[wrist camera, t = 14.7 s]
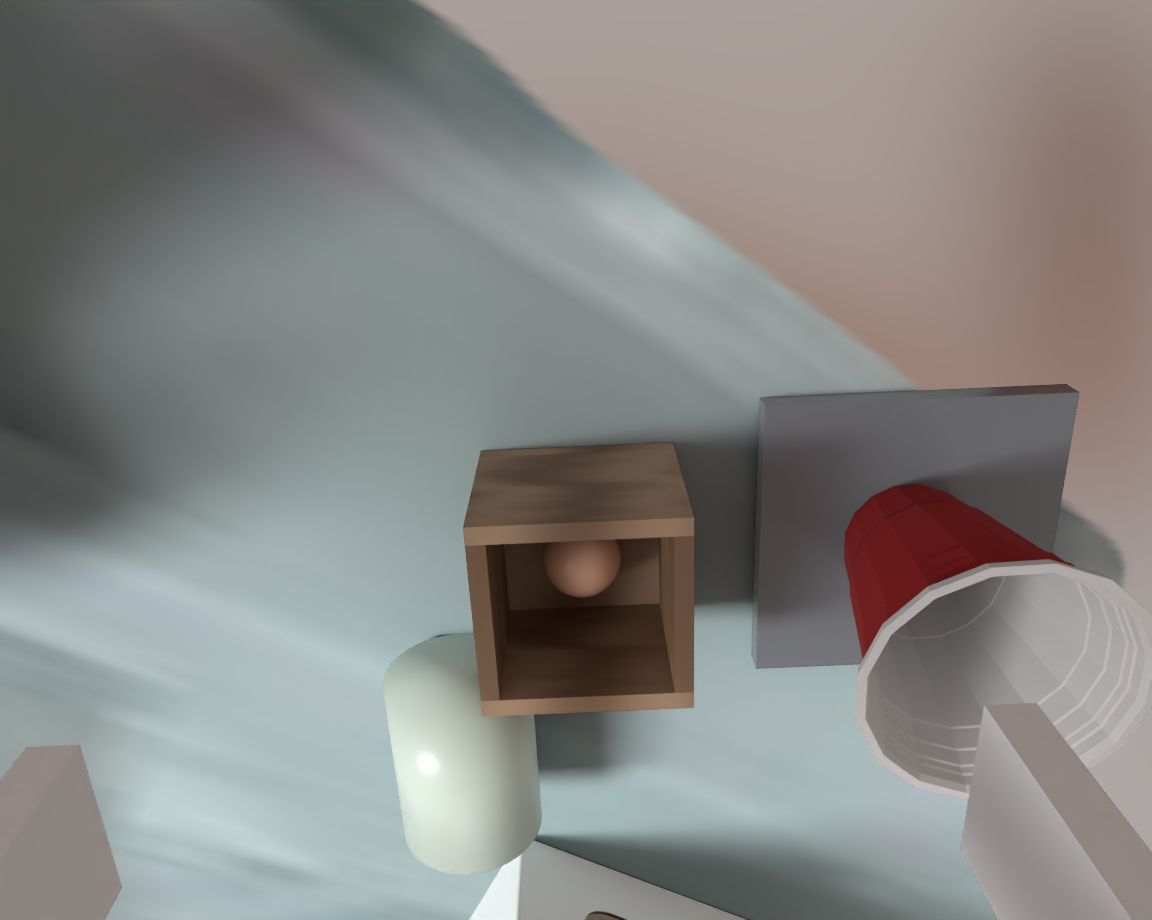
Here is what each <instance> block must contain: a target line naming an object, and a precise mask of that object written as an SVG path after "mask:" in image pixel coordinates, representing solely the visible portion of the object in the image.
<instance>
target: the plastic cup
mask: <svg viewBox="0 0 1152 920" xmlns="http://www.w3.org/2000/svg"><path fill="white" fill-rule="evenodd" d="M844 563H845V567H846V571H847V575H848V579H849V583H850V598H851V603H852V608H853V613H854V618H855V623H856V628H857V633H858V638H859V643H860V648H861V653H862V662H861V664H860V666H859V667H858V677H857V699H856V723H857V724H858V726H859V728H860V730H861V732H862V734H863V736H864V738H865V740H866V742H867V744H868V746H869V748H870V750H871V752H872V753H873V755H874V757H875V759H876V760H877V761H879V762H880V763H881V764H883V765H884V766H886V767H887V768H888V769H890V770H891V771H893V772H894V773H895V774H897V775H898V776H900V777H901V778H902V779H904V780H905V781H907V782H908V783H909V784H911V785H912V786H914V787H918V788H921V789H925V790H929V791H933V792H937V793H941V794H945V795H949V796H953V797H956V798H960V799H969V793H970V787H971V781H972V775H973V769H974V763H975V757H976V751H977V745H978V739H979V733H980V727H981V721H982V715H983V709H984V705H996V704H1019V703H1037V704H1038V706H1039V707H1040V708H1041V709H1042V711H1043V712H1044V713H1045V715H1046V716H1047V717H1048V719H1049V720H1050V721H1051V722H1052V724H1053V725H1054V726H1055V728H1056V729H1057V730H1058V731H1059V733H1060V734H1061V735H1062V737H1063V738H1064V739H1065V741H1066V742H1067V743H1068V744H1069V746H1070V747H1071V748H1072V750H1073V751H1074V752H1075V753H1076V755H1077V756H1078V757H1079V759H1080V760H1081V761H1082V763H1083V764H1084V765H1085V766H1086V768H1087V769H1088V770H1089V769H1090V768H1092V767H1093V766H1095V765H1096V764H1098V763H1099V762H1101V761H1102V760H1103V759H1105V758H1106V757H1108V756H1109V755H1111V754H1112V753H1114V752H1115V751H1117V750H1118V749H1120V748H1121V747H1123V745H1124V744H1125V743H1126V741H1127V740H1128V739H1129V738H1130V736H1131V735H1132V734H1133V732H1134V731H1135V730H1136V728H1137V727H1138V726H1139V724H1140V723H1141V722H1142V720H1143V719H1144V718H1145V716H1146V715H1147V714H1148V712H1149V711H1150V710H1151V708H1152V615H1151V613H1150V612H1148V611H1147V610H1146V609H1145V608H1144V607H1143V606H1142V605H1140V604H1139V603H1138V602H1137V601H1136V600H1135V599H1134V598H1133V597H1131V596H1130V595H1129V594H1128V593H1127V592H1126V591H1125V590H1123V589H1122V588H1121V587H1120V586H1119V585H1118V584H1117V583H1115V582H1114V581H1113V580H1112V579H1110V578H1108V577H1106V576H1104V575H1102V574H1098V573H1095V572H1091V571H1088V570H1084V569H1081V568H1077V567H1075V566H1074V565H1072V564H1071V563H1067V562H1064V561H1063V560H1061V559H1060V558H1059V557H1057V556H1056V555H1054V554H1053V553H1050V552H1047V551H1044V550H1043V549H1041V548H1039V547H1038V546H1036V545H1035V544H1033V543H1031V542H1030V541H1028V540H1027V539H1025V538H1024V537H1022V536H1020V535H1019V534H1017V533H1016V532H1014V531H1012V530H1011V529H1009V528H1008V527H1006V526H1005V525H1003V524H1001V523H1000V522H998V521H997V520H995V519H994V518H992V517H990V516H989V515H987V514H986V513H984V512H982V511H981V510H979V509H977V508H974V507H970V506H969V505H967V504H965V503H964V502H962V501H961V500H959V499H957V498H956V497H954V496H953V495H951V494H949V493H948V492H944V491H941V490H937V489H934V488H930V487H927V486H923V485H920V484H911V485H900V486H893V487H891V488H889V489H886V490H884V491H882V492H880V493H878V494H876V495H873V496H871V497H870V498H869V499H868V500H867V501H866V502H865V503H864V504H863V505H862V506H861V507H860V508H859V509H858V510H857V511H856V512H855V513H854V515H853V517H852V519H851V521H850V524H849V526H848V528H847V530H846V532H845V546H844Z"/></svg>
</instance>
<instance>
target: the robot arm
mask: <svg viewBox="0 0 1152 920" xmlns="http://www.w3.org/2000/svg"><path fill="white" fill-rule="evenodd" d="M960 849H961V851H962V853H963V855H964V857H965V859H966V861H967V862H968V864H969V866H970V868H971V870H972V872H973V874H974V876H975V878H976V879H977V881H978V883H979V885H980V887H981V889H982V891H983V893H984V895H985V896H986V898H987V900H988V902H989V904H990V906H991V908H992V910H993V912H994V913H995V915H996V917H997V919H998V920H1152V852H1151V851H1150V849H1149V848H1148V847H1147V845H1146V844H1145V843H1144V841H1143V840H1142V839H1141V838H1140V836H1139V835H1138V834H1137V832H1136V831H1135V830H1134V828H1133V827H1132V826H1131V825H1130V823H1129V822H1128V821H1127V819H1126V818H1125V817H1124V816H1123V814H1122V813H1121V812H1120V811H1119V809H1118V808H1117V807H1116V805H1115V804H1114V803H1113V801H1112V800H1111V799H1110V797H1109V796H1108V795H1107V794H1106V792H1105V791H1104V790H1103V789H1102V787H1101V786H1100V785H1099V783H1098V782H1097V781H1096V779H1095V778H1094V777H1093V775H1092V774H1091V773H1090V772H1089V770H1088V769H1087V768H1086V766H1085V765H1084V764H1083V763H1082V761H1081V760H1080V759H1079V757H1078V756H1077V755H1076V753H1075V752H1074V751H1073V750H1072V748H1071V747H1070V746H1069V744H1068V743H1067V742H1066V741H1065V739H1064V738H1063V737H1062V735H1061V734H1060V733H1059V731H1058V730H1057V729H1056V728H1055V726H1054V725H1053V724H1052V722H1051V721H1050V720H1049V719H1048V717H1047V716H1046V715H1045V713H1044V712H1043V711H1042V709H1041V708H1040V707H1039V706H1038V704H1037V703H1019V704H996V705H984V709H983V715H982V721H981V727H980V733H979V739H978V745H977V751H976V757H975V763H974V769H973V775H972V781H971V787H970V793H969V799H968V805H967V811H966V817H965V823H964V829H963V835H962V841H961V847H960ZM121 888H122V885H121V882H120V879H119V875H118V872H117V869H116V865H115V862H114V859H113V855H112V852H111V848H110V845H109V842H108V838H107V835H106V832H105V828H104V825H103V821H102V818H101V815H100V811H99V808H98V805H97V801H96V798H95V795H94V791H93V788H92V784H91V781H90V778H89V774H88V771H87V768H86V764H85V761H84V757H83V754H82V751H81V747H80V745H63V746H40V747H26V748H25V749H24V751H23V752H22V753H21V755H20V756H19V757H18V758H17V760H16V761H15V762H14V764H13V765H12V766H11V767H10V769H9V770H8V771H7V773H6V774H5V775H4V777H3V778H2V779H1V780H0V920H105V919H106V917H107V915H108V913H109V911H110V909H111V907H112V905H113V903H114V901H115V900H116V898H117V896H118V894H119V892H120V890H121Z"/></svg>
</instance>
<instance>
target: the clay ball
mask: <svg viewBox="0 0 1152 920" xmlns="http://www.w3.org/2000/svg"><path fill="white" fill-rule="evenodd" d="M620 562H621V554H620V549H619V545H618V543H617V541H616V539H611V540H588V541H565V542H546V544H545V547H544V550H543V567H544V570H545V573H546V575H547V577H548V579H549V580H550V582H551V583H552V584H553V585H554V586H555V587H556V588H557V589H558V590H559V591H561V592H563V593H565V594H567V595H569V596H573V597H579V598H584V597H591V596H594V595H597V594H599V593H601V592H602V591H604V590H605V589H607V588H608V587H609V586H610V585H611V584H612V582H613V581H614V580H615V578H616V576H617V574H618V571H619V568H620Z"/></svg>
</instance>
